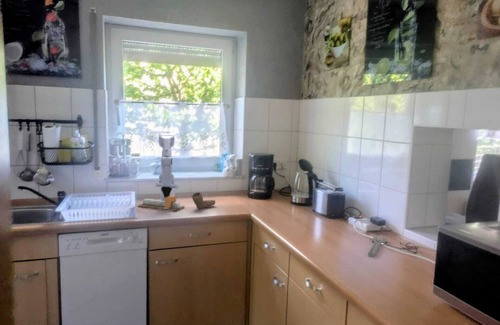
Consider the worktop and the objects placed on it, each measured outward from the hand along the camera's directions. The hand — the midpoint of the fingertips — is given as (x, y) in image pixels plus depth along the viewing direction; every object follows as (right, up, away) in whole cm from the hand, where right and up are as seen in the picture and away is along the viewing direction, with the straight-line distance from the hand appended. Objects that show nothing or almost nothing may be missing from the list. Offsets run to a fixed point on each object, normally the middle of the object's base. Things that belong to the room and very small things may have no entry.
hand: (166, 199), depth 208 cm
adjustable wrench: (+105, -16, -56) cm, 120 cm away
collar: (+2, -4, 0) cm, 5 cm away
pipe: (+22, -6, +4) cm, 23 cm away
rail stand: (-4, -5, +2) cm, 7 cm away
